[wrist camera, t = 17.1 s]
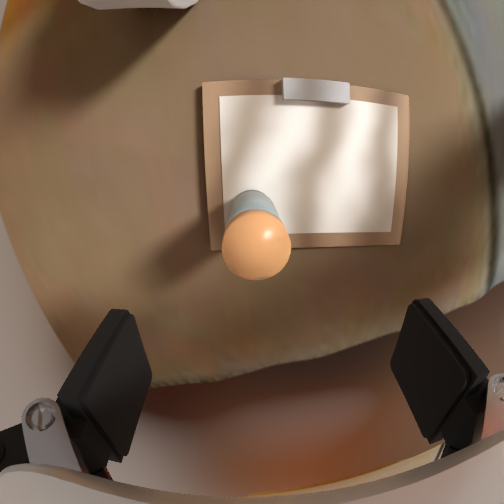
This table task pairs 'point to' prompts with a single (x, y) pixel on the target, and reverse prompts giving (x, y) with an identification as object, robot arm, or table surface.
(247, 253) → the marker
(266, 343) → the table surface
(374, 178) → the clipboard
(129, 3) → the alarm clock
